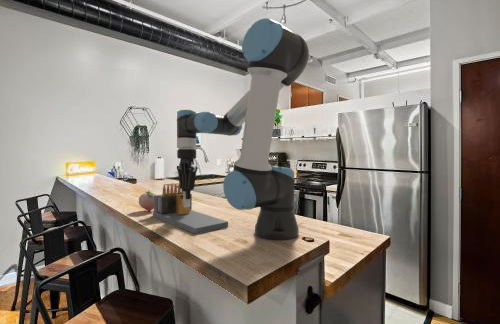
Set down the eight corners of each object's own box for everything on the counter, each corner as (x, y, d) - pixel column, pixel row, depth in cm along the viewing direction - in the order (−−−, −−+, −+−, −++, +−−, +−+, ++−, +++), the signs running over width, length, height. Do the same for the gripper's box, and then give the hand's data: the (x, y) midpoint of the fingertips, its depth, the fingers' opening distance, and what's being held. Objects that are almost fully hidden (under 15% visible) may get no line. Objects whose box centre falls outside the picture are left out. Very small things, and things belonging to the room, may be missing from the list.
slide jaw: (198, 211, 113) (198, 193, 113) (168, 216, 103) (168, 196, 103) (188, 208, 119) (188, 191, 119) (159, 212, 109) (159, 193, 109)
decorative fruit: (135, 210, 123) (135, 189, 123) (152, 208, 129) (152, 188, 129) (143, 214, 116) (143, 192, 116) (160, 211, 122) (161, 190, 122)
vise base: (228, 226, 98) (228, 203, 98) (195, 234, 88) (195, 207, 88) (181, 211, 123) (182, 192, 123) (152, 215, 114) (152, 195, 114)
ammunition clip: (162, 213, 110) (163, 184, 110) (161, 212, 112) (161, 184, 112) (185, 209, 118) (185, 183, 117) (183, 209, 119) (183, 182, 119)
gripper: (203, 148, 104) (203, 208, 104) (187, 149, 113) (187, 203, 113) (186, 148, 99) (186, 210, 99) (170, 149, 108) (170, 205, 108)
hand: (186, 206), depth 106 cm, fingers closed
